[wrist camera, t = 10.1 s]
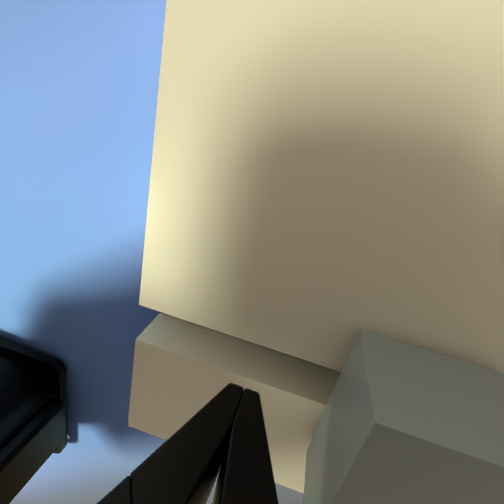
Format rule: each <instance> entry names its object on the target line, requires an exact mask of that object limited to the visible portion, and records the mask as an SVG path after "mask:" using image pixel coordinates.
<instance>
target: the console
mask: <svg viewBox="0 0 504 504" xmlns="http://www.w3.org/2000/svg"><path fill="white" fill-rule="evenodd" d="M139 305H141V306H144V307H147V308H150V309H153V310H156V311H159V312H160V313H159V314H158V316H157V317H156V318H155V319H154V320H153V321H152V322H151V323H150V324H149V325H148V326H147V327H146V328H145V330H144V331H143V332H142V333H141V334H140V335H139V336H138V337H137V338H136V340H135V351H134V362H133V373H132V384H131V395H130V405H129V416H128V426H130V427H133V428H135V429H138V430H140V431H143V432H145V433H148V434H151V435H153V436H156V437H158V438H161V439H164V440H166V441H167V440H168V439H169V438H170V437H171V436H172V435H173V434H174V433H175V432H176V431H177V430H179V429H180V428H181V427H182V426H183V425H184V424H185V423H186V422H187V421H188V420H189V419H190V418H192V417H193V416H194V415H195V414H196V413H197V412H198V411H199V410H200V409H201V408H202V407H204V406H205V405H206V404H207V403H208V402H209V401H210V400H211V399H212V398H213V397H214V396H216V395H217V394H218V393H219V392H220V391H221V390H222V389H223V388H224V387H225V386H226V385H228V384H229V383H233V384H236V385H239V386H242V387H243V388H244V389H246V388H248V389H251V390H254V391H256V392H258V393H259V394H260V399H261V405H262V411H263V417H264V422H265V428H266V434H267V440H268V446H269V452H270V458H271V463H272V469H273V475H274V481H275V483H278V484H280V485H283V486H285V487H288V488H291V489H293V490H296V491H298V492H301V493H304V483H305V468H306V453H307V449H308V446H309V444H310V442H311V440H312V437H313V435H314V433H315V430H316V428H317V426H318V423H319V421H320V419H321V417H322V414H323V412H324V410H325V407H326V405H327V403H328V400H329V398H330V396H331V394H332V391H333V389H334V387H335V384H336V382H337V380H338V377H339V375H340V373H341V371H342V368H343V366H344V364H345V361H346V359H347V357H348V354H349V352H350V350H351V348H352V345H353V343H354V341H355V338H356V336H357V334H358V331H359V329H360V328H361V329H364V330H367V331H370V332H374V333H377V334H380V335H383V336H386V337H390V338H393V339H396V340H399V341H402V342H405V343H409V344H412V345H415V346H418V347H421V348H425V349H428V350H431V351H434V352H437V353H441V354H444V355H447V356H450V357H453V358H456V359H460V360H463V361H466V362H469V363H472V364H476V365H479V366H482V367H485V368H488V369H492V370H495V371H498V372H501V373H504V0H167V3H166V14H165V25H164V36H163V46H162V57H161V68H160V79H159V90H158V101H157V112H156V123H155V133H154V144H153V155H152V166H151V177H150V188H149V199H148V210H147V220H146V231H145V242H144V253H143V264H142V275H141V286H140V297H139Z"/></svg>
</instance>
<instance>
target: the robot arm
mask: <svg viewBox="0 0 504 504" xmlns="http://www.w3.org/2000/svg"><path fill="white" fill-rule="evenodd" d="M66 445H67V419H66V369H65V366H64V364H63V363H62V362H61V361H60V360H58V359H56V358H53V357H51V356H48V355H45V354H43V353H40V352H37V351H34V350H32V349H29V348H26V347H24V346H21V345H18V344H15V343H13V342H10V341H7V340H5V339H2V338H0V504H9V503H10V502H11V501H12V500H13V499H14V497H15V496H16V495H17V494H18V493H19V492H20V490H21V489H22V488H23V487H24V486H25V485H26V483H27V482H28V481H29V480H30V479H31V478H32V476H33V475H34V474H35V473H36V472H37V471H38V469H39V468H40V467H41V466H42V465H43V464H44V462H45V461H46V460H47V459H48V458H49V457H50V455H51V454H52V453H60V452H61V451H62V450H63V449H64V448H65V447H66ZM220 467H221V468H220ZM219 470H220V471H219ZM218 473H219V475H218ZM217 476H218V479H217V484H216V488H215V493H214V498H213V503H212V504H278V499H277V493H276V487H275V481H274V475H273V469H272V463H271V458H270V452H269V446H268V440H267V434H266V428H265V422H264V417H263V411H262V405H261V399H260V394H259V393H258V392H256V391H254V390H251V389H248V388H246V389H244V388H243V387H242V386H239V385H236V384H233V383H229V384H228V385H226V386H225V387H224V388H223V389H222V390H221V391H220V392H219V393H218V394H217V395H216V396H214V397H213V398H212V399H211V400H210V401H209V402H208V403H207V404H206V405H205V406H204V407H202V408H201V409H200V410H199V411H198V412H197V413H196V414H195V415H194V416H193V417H192V418H190V419H189V420H188V421H187V422H186V423H185V424H184V425H183V426H182V427H181V428H180V429H179V430H177V431H176V432H175V433H174V434H173V435H172V436H171V437H170V438H169V439H168V440H167V441H165V442H164V443H163V444H162V445H161V446H160V447H159V448H158V449H157V450H156V451H155V452H153V453H152V454H151V455H150V456H149V457H148V458H147V459H146V460H145V461H144V462H143V463H141V464H140V465H139V466H138V467H137V468H136V469H135V470H134V471H133V472H132V473H131V475H130V476H127V477H126V478H125V479H124V480H123V481H122V482H120V483H119V484H118V485H117V486H116V487H115V488H114V489H113V490H112V491H111V492H109V493H108V494H107V495H106V496H105V497H104V498H102V499H101V500H100V501H99V502H98V503H97V504H206V502H207V499H208V497H209V495H210V493H211V490H212V488H213V486H214V483H215V481H216V478H217Z"/></svg>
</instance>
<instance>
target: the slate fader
mask: <svg viewBox="0 0 504 504" xmlns="http://www.w3.org/2000/svg"><path fill="white" fill-rule="evenodd" d="M303 504H504V373H501V372H498V371H495V370H492V369H488V368H485V367H482V366H479V365H476V364H472V363H469V362H466V361H463V360H460V359H456V358H453V357H450V356H447V355H444V354H441V353H437V352H434V351H431V350H428V349H425V348H421V347H418V346H415V345H412V344H409V343H405V342H402V341H399V340H396V339H393V338H390V337H386V336H383V335H380V334H377V333H374V332H370V331H367V330H364V329H361V328H360V329H359V331H358V334H357V336H356V338H355V341H354V343H353V345H352V348H351V350H350V352H349V354H348V357H347V359H346V361H345V364H344V366H343V368H342V371H341V373H340V375H339V377H338V380H337V382H336V384H335V387H334V389H333V391H332V394H331V396H330V398H329V400H328V403H327V405H326V407H325V410H324V412H323V414H322V417H321V419H320V421H319V423H318V426H317V428H316V430H315V433H314V435H313V437H312V440H311V442H310V444H309V446H308V449H307V453H306V468H305V483H304V498H303Z"/></svg>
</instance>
